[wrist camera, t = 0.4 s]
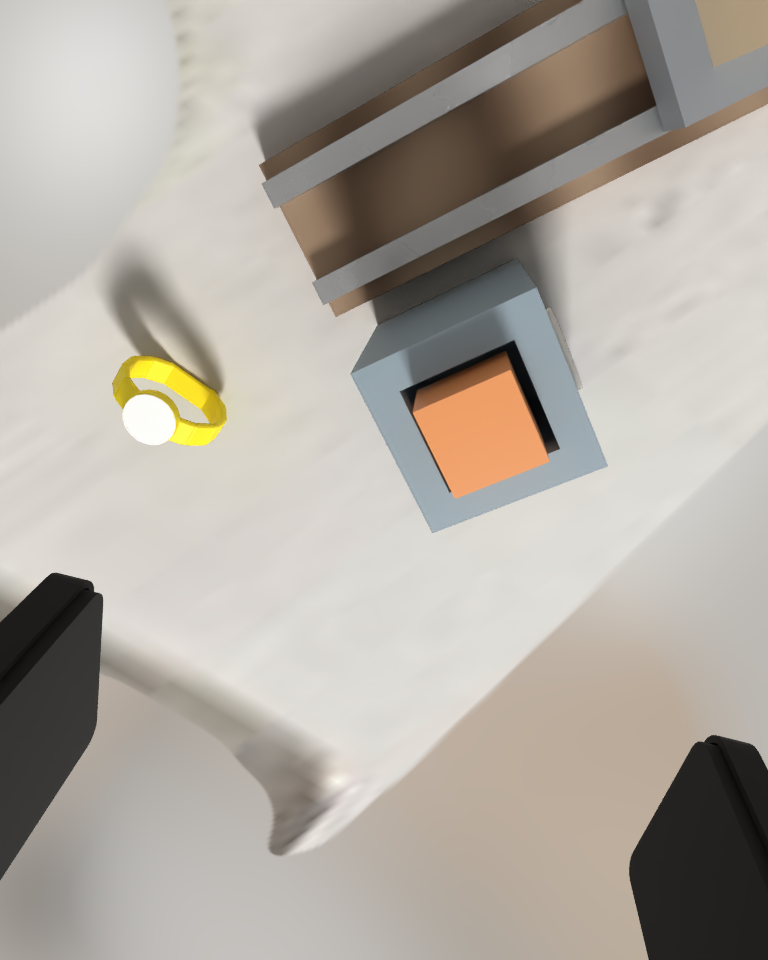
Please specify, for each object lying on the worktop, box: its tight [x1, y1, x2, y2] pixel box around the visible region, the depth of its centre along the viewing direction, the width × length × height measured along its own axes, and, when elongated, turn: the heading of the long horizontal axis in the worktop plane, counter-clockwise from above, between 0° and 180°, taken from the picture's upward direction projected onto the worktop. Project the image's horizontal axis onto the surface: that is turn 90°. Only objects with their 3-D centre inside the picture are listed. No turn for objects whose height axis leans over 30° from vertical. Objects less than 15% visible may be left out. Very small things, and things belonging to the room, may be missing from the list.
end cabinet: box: [351, 258, 608, 533], centre depth 33 cm, size 8×8×10 cm
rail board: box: [259, 0, 768, 317], centre depth 31 cm, size 23×8×3 cm, turn 117°
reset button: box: [413, 351, 550, 499], centre depth 28 cm, size 4×4×3 cm
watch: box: [112, 356, 227, 445], centre depth 37 cm, size 6×3×6 cm, turn 54°
